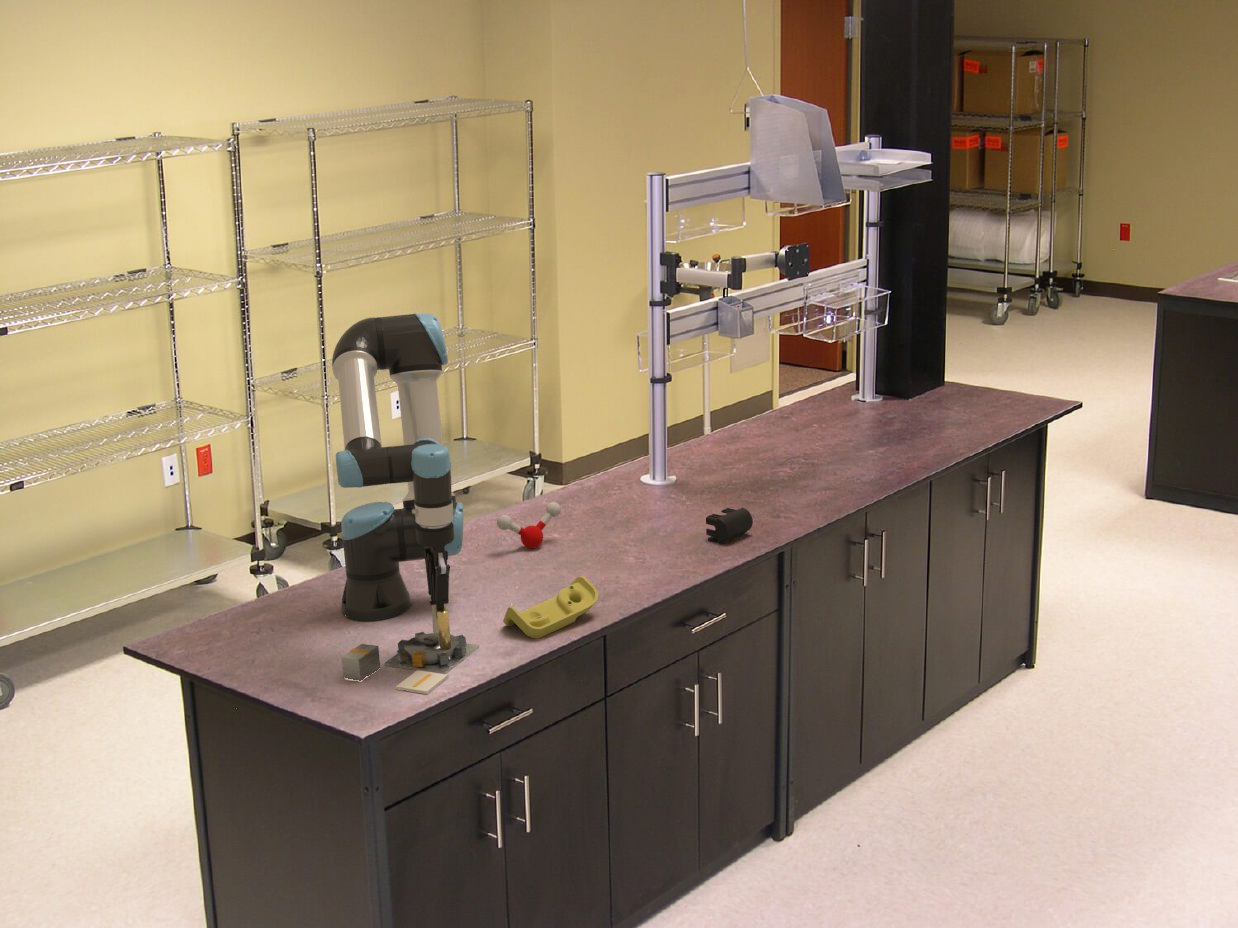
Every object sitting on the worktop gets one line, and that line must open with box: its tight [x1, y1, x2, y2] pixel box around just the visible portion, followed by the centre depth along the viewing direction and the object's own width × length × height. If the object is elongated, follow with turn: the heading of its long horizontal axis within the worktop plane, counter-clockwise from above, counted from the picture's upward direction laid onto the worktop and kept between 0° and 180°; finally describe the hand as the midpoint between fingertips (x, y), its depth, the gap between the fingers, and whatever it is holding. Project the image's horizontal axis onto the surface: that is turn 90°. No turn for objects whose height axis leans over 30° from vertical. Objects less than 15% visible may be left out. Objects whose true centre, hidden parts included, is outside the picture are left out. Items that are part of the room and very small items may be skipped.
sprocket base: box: [384, 642, 480, 674], centre depth 301 cm, size 14×14×1 cm
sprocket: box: [396, 608, 467, 667], centre depth 299 cm, size 14×14×10 cm
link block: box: [341, 643, 382, 681], centre depth 293 cm, size 4×7×5 cm, turn 155°
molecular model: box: [496, 501, 562, 549], centre depth 360 cm, size 18×6×10 cm, turn 130°
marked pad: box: [395, 670, 449, 695], centre depth 288 cm, size 7×8×1 cm
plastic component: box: [503, 575, 599, 639], centre depth 315 cm, size 20×7×10 cm
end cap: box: [705, 507, 754, 545], centre depth 360 cm, size 10×7×7 cm
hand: (440, 631), depth 300 cm, fingers closed
